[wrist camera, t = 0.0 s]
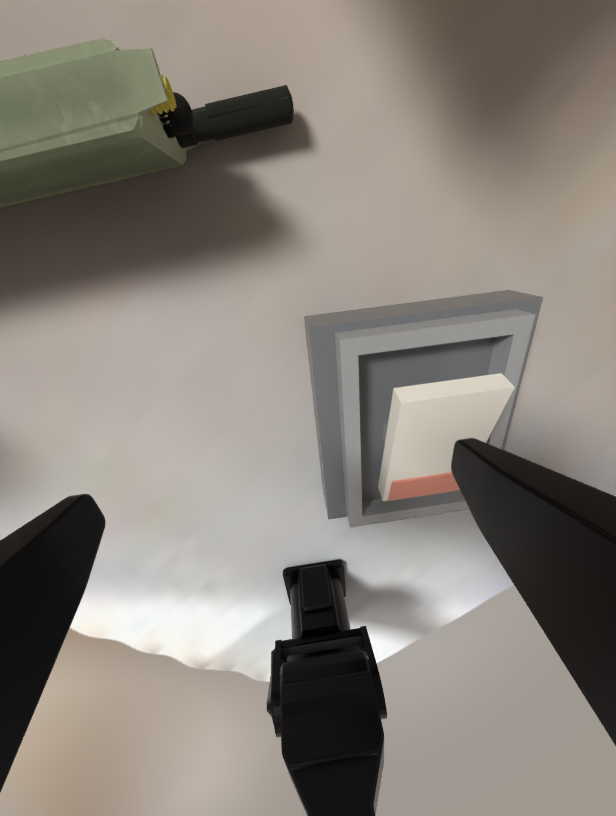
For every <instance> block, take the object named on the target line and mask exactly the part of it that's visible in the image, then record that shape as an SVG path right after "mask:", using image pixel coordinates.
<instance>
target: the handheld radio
mask: <svg viewBox="0 0 616 816" xmlns="http://www.w3.org/2000/svg"><path fill="white" fill-rule="evenodd" d="M205 106H206V107H202V108H197V109H193V110H191V108H190V105H189V104H188V102H187V101H186V99H185V98H184V97H183V96H182V95H180V94H178V93H175V92H174V93H173V91H172V89H171V86H170V84H169V81H168V79H167V78H166V77H164V76H163V75H162V74H161V75H160V72H159V68H158V65H157V62H156V59H155V56H154V53H153V50H152V49H134V50H119V49H118V48H117V47H116V45H115V44H114V43H113V42H112V41H110V40H107V39H104V38H102V39H98V40H93V41H89V42H84V43H80V44H76V45H71V46H67V47H62V48H58V49H54V50H49V51H45V52H40V53H36V54H32V55H24V56H22V57H18V58H14V59H10V60H5V61H1V62H0V208H2V207H6V206H11V205H15V204H19V203H24V202H28V201H32V200H37V199H41V198H45V197H50V196H54V195H58V194H63V193H67V192H71V191H76V190H80V189H84V188H89V187H93V186H97V185H102V184H106V183H110V182H115V181H119V180H123V179H128V178H132V177H136V176H141V175H145V174H149V173H154V172H158V171H162V170H166V169H171V168H175V167H179V166H181V165H183V164H184V163H185V161H186V159H187V152H188V151H190V150H191V149H193V148H195V147H196V146H198V145H200V144H201V142H203V141H207V140H211V139H215V140H220V139H225V138H229V137H233V136H238V135H242V134H246V133H251V132H255V131H259V130H264V129H268V128H272V127H277V126H281V125H285V124H290V123H292V120H293V111H294V109H293V101H292V96H291V94H290V92H289V89H288V87H287V85H285V86H281V87H276V88H272V89H268V90H263V91H259V92H255V93H251V94H246V95H242V96H238V97H234V98H229V99H225V100H221V101H216V102H212V103H208V104H205Z"/></svg>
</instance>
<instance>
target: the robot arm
mask: <svg viewBox="0 0 616 816" xmlns="http://www.w3.org/2000/svg"><path fill="white" fill-rule="evenodd" d="M451 471H452V474H453V477H454V479H455V481H456V483H457V485H458V487H459V489H460V491H461V493H462V495H463V497H464V499H465V501H466V503H467V505H468V507H469V509H470V511H471V513H472V515H473V517H474V519H475V521H476V523H477V525H478V527H479V529H480V530H481V532H482V534H483V535H484V537H485V539H486V540H487V542H488V544H489V545H490V547H491V548H492V550H493V552H494V553H495V555H496V556H497V558H498V559H499V561H500V563H501V564H502V566H503V567H504V569H505V571H506V572H507V574H508V575H509V577H510V579H511V580H512V582H513V583H514V585H515V586H516V588H517V590H518V591H519V593H520V594H521V596H522V598H523V599H524V601H525V602H526V604H527V606H528V607H529V609H530V610H531V612H532V614H533V615H534V616H535V618H536V620H537V621H538V623H539V625H540V626H541V628H542V629H543V631H544V633H545V634H546V636H547V637H548V639H549V640H550V642H551V644H552V645H553V647H554V648H555V650H556V652H557V653H558V655H559V656H560V658H561V660H562V661H563V663H564V664H565V666H566V667H567V669H568V671H569V672H570V674H571V675H572V677H573V679H574V680H575V682H576V683H577V685H578V687H579V688H580V690H581V691H582V693H583V695H584V696H585V698H586V699H587V701H588V703H589V704H590V706H591V707H592V709H593V710H594V712H595V713H596V715H597V717H598V718H599V720H600V721H601V723H602V725H603V726H604V728H605V730H606V731H607V732H608V734H609V736H610V738H611V739H612V741H613V742H614V744H615V745H616V497H615V496H613V495H611V494H608V493H606V492H603V491H601V490H599V489H596V488H594V487H591V486H589V485H586V484H584V483H582V482H579V481H577V480H574V479H572V478H570V477H567V476H565V475H562V474H560V473H557V472H555V471H553V470H550V469H548V468H545V467H543V466H541V465H538V464H536V463H533V462H531V461H528V460H526V459H524V458H521V457H519V456H516V455H514V454H512V453H509V452H507V451H504V450H502V449H499V448H497V447H495V446H492V445H490V444H487V443H485V442H483V441H480V440H478V439H475V438H467V439H460V440H457V441H456V442H455V444H454V449H453V456H452V462H451ZM104 529H105V517H104V515H103V514H102V512H101V510H100V509H99V507H98V505H97V504H96V502H95V501H94V499H93V498H92V496H90V495H89V494H80V495H73V496H69V497H67V498H65V499H64V500H62V501H61V502H59V503H57V504H56V505H54V506H53V507H51V508H50V509H48V510H47V511H45V512H44V513H42V514H41V515H39V516H37V517H36V518H34V519H33V520H31V521H30V522H28V523H27V524H25V525H24V526H22V527H21V528H19V529H17V530H16V531H14V532H13V533H11V534H10V535H8V536H7V537H5V538H4V539H2V540H0V792H1V790H2V787H3V785H4V783H5V780H6V778H7V775H8V773H9V771H10V768H11V766H12V763H13V761H14V759H15V756H16V754H17V752H18V749H19V746H20V744H21V742H22V740H23V737H24V735H25V733H26V730H27V728H28V725H29V723H30V721H31V718H32V716H33V713H34V711H35V708H36V706H37V704H38V702H39V699H40V697H41V694H42V692H43V689H44V687H45V685H46V683H47V680H48V678H49V675H50V673H51V671H52V668H53V666H54V664H55V661H56V659H57V656H58V654H59V652H60V649H61V647H62V644H63V642H64V640H65V637H66V635H67V633H68V630H69V628H70V625H71V623H72V621H73V618H74V616H75V614H76V611H77V609H78V606H79V604H80V602H81V599H82V596H83V594H84V591H85V588H86V586H87V583H88V580H89V577H90V573H91V570H92V567H93V564H94V561H95V557H96V554H97V551H98V548H99V545H100V541H101V538H102V535H103V532H104ZM283 577H284V582H285V586H286V590H287V594H288V598H289V602H290V605H291V621H292V639H290V640H284V641H282V640H276V642H275V649H274V650H273V651H271V677H270V685H269V692H268V698H267V712H268V713H269V714H270V715H271V717H272V719H273V724H274V727H275V733H276V737H281V745H282V755H283V758H284V761H285V764H286V766H287V769H288V771H289V774H290V777H291V779H292V782H293V784H294V787H295V789H296V791H297V794H298V796H299V798H300V801H301V803H302V805H303V808H304V810H305V812H306V815H307V816H375V813H376V807H377V801H378V795H379V789H380V783H381V777H382V770H383V765H384V732H383V727H382V723H381V719H386V718H387V711H386V704H385V698H384V693H383V688H382V684H381V679H380V675H379V672H378V668H377V664H376V660H375V657H374V653H373V650H372V646H371V643H370V639H369V636H368V632H367V629H366V626H362V627H360V628H357V629H351V630H350V624H349V619H348V614H347V609H346V604H345V599H344V597H345V596H346V592H345V579H344V566H343V562H342V561H341V560H337V561H331V562H324V563H318V564H311V565H305V566H299V567H292V568H286V569H284V570H283Z"/></svg>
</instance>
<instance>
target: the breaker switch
mask: <svg viewBox="0 0 616 816" xmlns="http://www.w3.org/2000/svg"><path fill="white" fill-rule="evenodd" d="M514 388H515V387H514V386H513V385H512V384H511V383H510V382H509V381H508V379H507V378H506V377H505V376H504V375H503V374H502V373H499V374H492V375H485V376H478V377H470V378H463V379H456V380H449V381H441V382H434V383H427V384H420V385H412V386H405V387H398V388H394V389H393V395H392V401H391V408H390V414H389V420H388V427H387V433H386V439H385V446H384V452H383V458H382V465H381V471H380V477H379V484H378V489H379V492H380V495H381V498H382V501H388V500H389V501H392V500H399V499H406V498H412V497H419V496H425V495H432V494H439V493H445V492H452V491H458V490H460V489H459V487H458V485H457V483H456V481H455V479H454V477H453V474H452V471H451V462H452V456H453V449H454V444H455V442H456V441H457V440H460V439H467V438H475V439H478V440H480V441H483V442H485V443H486V442H487V440H488V438H489V436H490V434H491V432H492V430H493V428H494V426H495V424H496V422H497V421H498V419H499V417H500V415H501V413H502V411H503V409H504V407H505V405H506V403H507V401H508V399H509V398H510V396H511V394H512V392H513V390H514Z"/></svg>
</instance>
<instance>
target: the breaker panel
mask: <svg viewBox="0 0 616 816" xmlns="http://www.w3.org/2000/svg"><path fill="white" fill-rule="evenodd" d="M542 299H543V297H540V296H535V295H530V294H525V293H520V292H515V291H510V290H507V291H499V292H491V293H483V294H476V295H468V296H460V297H452V298H445V299H437V300H429V301H421V302H413V303H406V304H398V305H390V306H382V307H375V308H367V309H359V310H351V311H344V312H336V313H328V314H320V315H313V316H305V317H304V319H305V328H306V337H307V346H308V355H309V365H310V374H311V383H312V392H313V401H314V411H315V420H316V429H317V438H318V447H319V457H320V466H321V475H322V484H323V493H324V498H325V504H326V509H327V514H328V519H334V518H341V517H347V518H348V522H349V525H350V527H356V526H362V525H369V524H375V523H382V522H389V521H395V520H402V519H408V518H415V517H421V516H428V515H434V514H441V513H447V512H454V511H460V510H467V509H469V507H468V505H467V503H466V501H465V499H464V497H463V495H462V493H461V491H460V490H458V491H452V492H445V493H439V494H432V495H425V496H419V497H412V498H406V499H399V500H392V501H389V500H388V501H382V498H381V495H380V492H379V489H378V484H379V477H380V471H381V465H382V458H383V452H384V446H385V439H386V433H387V427H388V420H389V414H390V408H391V401H392V395H393V389H394V388H398V387H405V386H412V385H420V384H427V383H434V382H441V381H449V380H456V379H463V378H470V377H478V376H485V375H492V374H499V373H502V374H503V375H504V376H505V377H506V378H507V379H508V381H509V382H510V383H511V384H512V385H513V386H514V387H515V388H514V390H513V392H512V394H511V396H510V398H509V399H508V401H507V403H506V405H505V407H504V409H503V411H502V413H501V415H500V417H499V419H498V421H497V422H496V424H495V426H494V428H493V430H492V432H491V434H490V436H489V438H488V440H487V442H486V443H487V444H490V445H492V446H495V447H497V448H499V449H502V450H504V446H505V442H506V438H507V434H508V430H509V426H510V423H511V419H512V415H513V411H514V407H515V403H516V400H517V396H518V392H519V388H520V384H521V380H522V376H523V373H524V369H525V365H526V361H527V357H528V353H529V350H530V346H531V342H532V338H533V334H534V330H535V326H536V323H537V319H538V315H539V311H540V307H541V303H542Z"/></svg>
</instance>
